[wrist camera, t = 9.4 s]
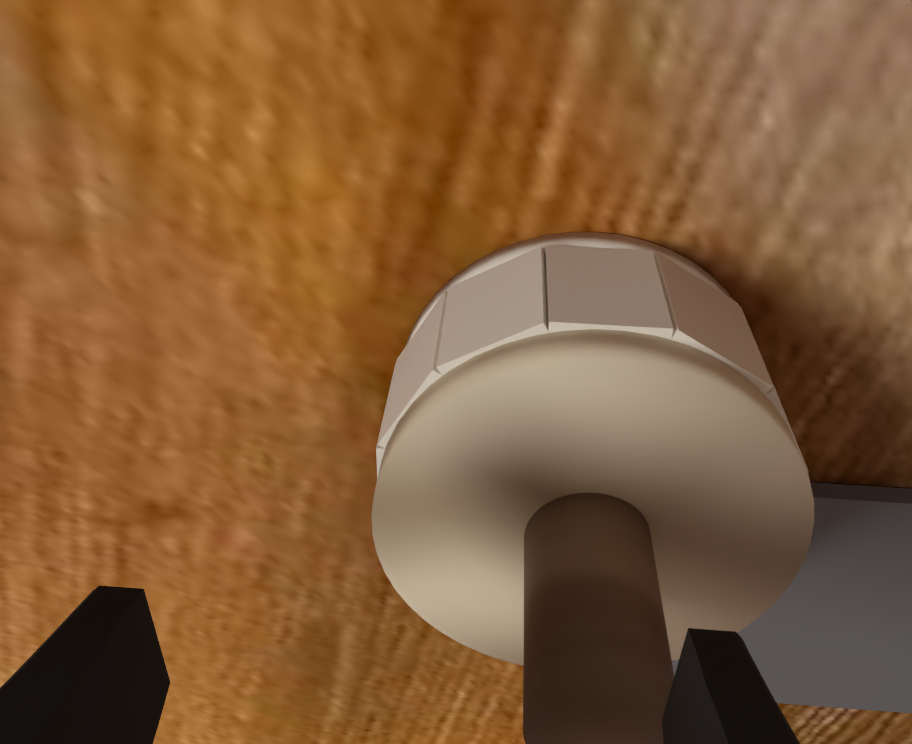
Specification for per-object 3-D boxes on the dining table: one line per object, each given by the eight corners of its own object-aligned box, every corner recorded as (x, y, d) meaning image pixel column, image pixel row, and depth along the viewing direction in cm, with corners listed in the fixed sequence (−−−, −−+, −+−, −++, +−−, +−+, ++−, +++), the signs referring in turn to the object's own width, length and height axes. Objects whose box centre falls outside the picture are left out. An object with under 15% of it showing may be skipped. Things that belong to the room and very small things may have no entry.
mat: (919, 697, 27) (927, 714, 27) (643, 676, 28) (646, 692, 27) (1035, 496, 22) (1046, 512, 22) (694, 474, 23) (698, 489, 22)
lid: (762, 642, 20) (828, 879, 16) (396, 632, 21) (362, 855, 17) (843, 328, 15) (973, 549, 11) (356, 329, 16) (291, 536, 12)
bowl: (717, 529, 24) (747, 647, 20) (402, 508, 24) (383, 621, 21) (799, 242, 19) (857, 339, 15) (397, 221, 19) (371, 311, 16)
